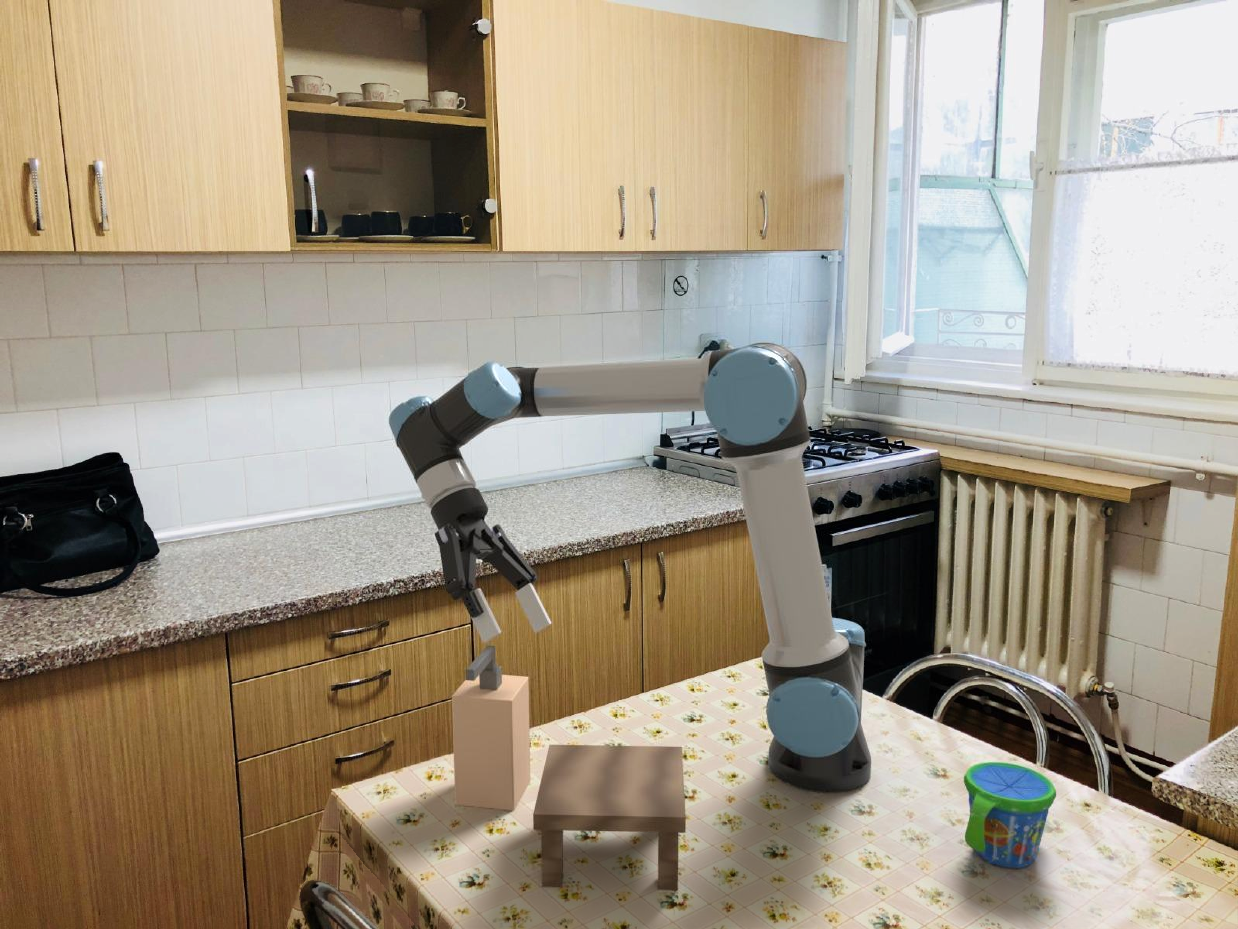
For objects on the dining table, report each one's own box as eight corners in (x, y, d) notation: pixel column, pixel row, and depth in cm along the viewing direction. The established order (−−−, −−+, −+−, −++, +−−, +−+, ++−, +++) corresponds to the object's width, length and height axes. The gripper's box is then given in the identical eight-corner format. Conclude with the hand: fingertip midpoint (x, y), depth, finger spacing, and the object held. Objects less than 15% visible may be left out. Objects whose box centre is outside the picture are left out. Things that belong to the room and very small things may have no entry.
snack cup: (1006, 818, 135) (1011, 748, 133) (1078, 854, 127) (1084, 780, 125) (930, 853, 127) (934, 780, 125) (1001, 895, 118) (1007, 817, 116)
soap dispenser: (474, 775, 147) (470, 634, 143) (530, 781, 145) (528, 638, 141) (444, 820, 135) (438, 667, 131) (504, 827, 133) (501, 672, 129)
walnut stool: (681, 814, 136) (681, 746, 134) (684, 894, 118) (685, 817, 117) (550, 812, 137) (549, 744, 135) (534, 891, 119) (533, 814, 117)
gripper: (481, 513, 153) (542, 636, 147) (378, 511, 130) (446, 656, 124) (518, 488, 150) (581, 612, 144) (420, 481, 127) (490, 628, 122)
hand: (519, 633), depth 134 cm, fingers open, 13 cm apart
